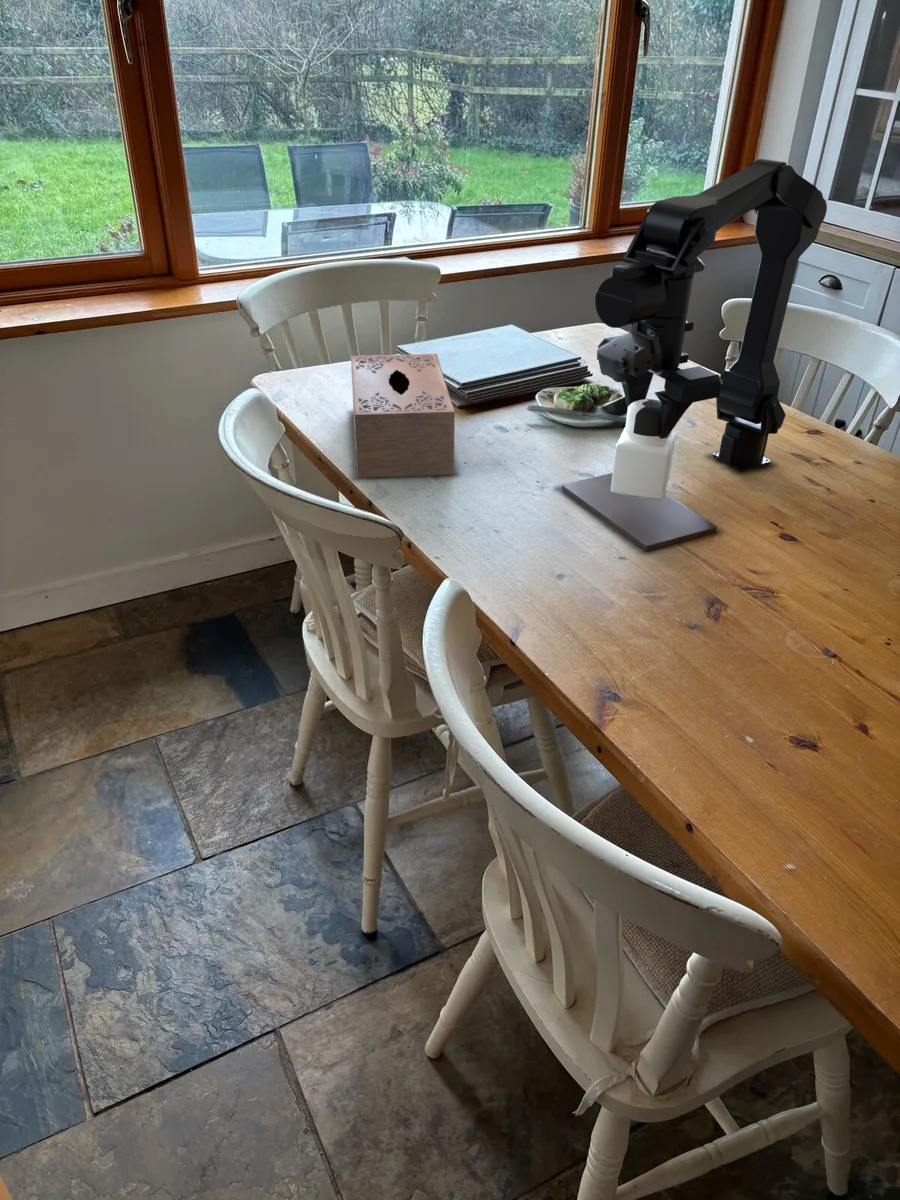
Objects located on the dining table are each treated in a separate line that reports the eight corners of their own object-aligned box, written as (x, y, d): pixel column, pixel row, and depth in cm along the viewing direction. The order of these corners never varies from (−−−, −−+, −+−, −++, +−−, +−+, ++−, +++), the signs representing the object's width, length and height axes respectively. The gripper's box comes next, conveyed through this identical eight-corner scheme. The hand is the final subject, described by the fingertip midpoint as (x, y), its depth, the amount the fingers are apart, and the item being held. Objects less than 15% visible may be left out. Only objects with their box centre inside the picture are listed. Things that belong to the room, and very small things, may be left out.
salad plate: (537, 436, 149) (539, 409, 147) (513, 397, 164) (515, 372, 161) (649, 430, 152) (653, 404, 149) (616, 392, 167) (619, 367, 164)
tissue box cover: (353, 412, 157) (350, 355, 151) (436, 410, 158) (436, 353, 153) (357, 478, 135) (354, 414, 130) (453, 474, 137) (454, 411, 131)
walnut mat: (627, 474, 138) (628, 469, 137) (716, 531, 123) (717, 526, 123) (561, 489, 133) (561, 484, 133) (645, 551, 118) (646, 546, 118)
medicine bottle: (669, 479, 128) (682, 398, 121) (662, 501, 122) (675, 417, 116) (619, 472, 130) (629, 391, 123) (609, 493, 124) (619, 410, 118)
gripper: (568, 300, 117) (559, 415, 125) (660, 342, 103) (642, 468, 112) (638, 290, 121) (624, 402, 130) (735, 329, 107) (712, 451, 116)
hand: (648, 429), depth 121 cm, fingers closed on medicine bottle, 6 cm apart
